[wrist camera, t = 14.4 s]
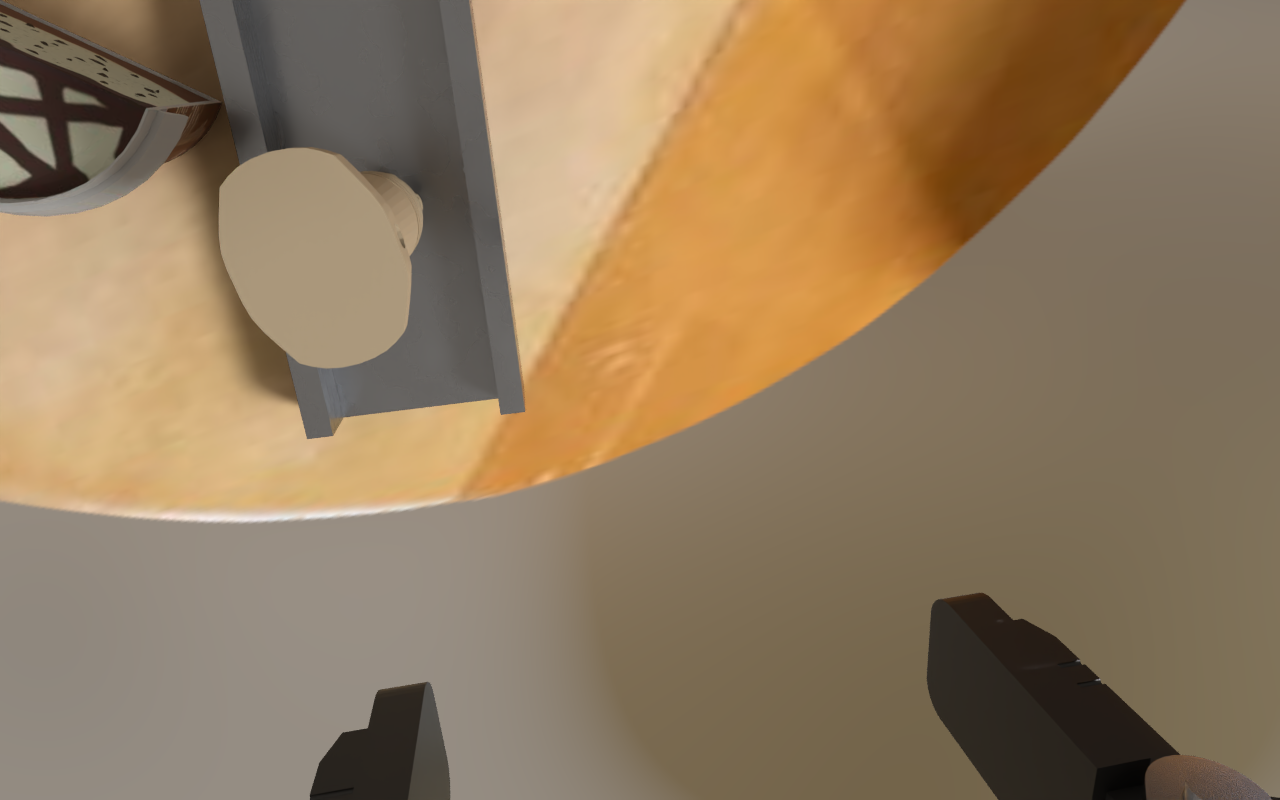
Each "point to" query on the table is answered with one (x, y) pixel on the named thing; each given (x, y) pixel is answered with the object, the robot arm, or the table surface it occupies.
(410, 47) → the track
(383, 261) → the handle
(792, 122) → the table surface
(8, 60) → the food container
